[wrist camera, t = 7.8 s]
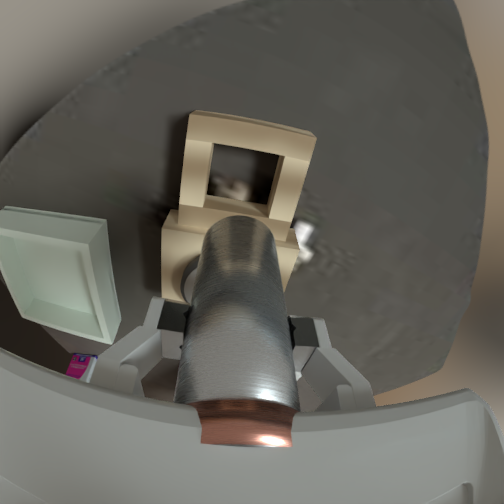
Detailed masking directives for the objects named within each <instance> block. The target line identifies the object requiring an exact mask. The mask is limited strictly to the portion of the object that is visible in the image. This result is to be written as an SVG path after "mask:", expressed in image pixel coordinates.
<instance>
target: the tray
mask: <svg viewBox="0 0 504 504" xmlns="http://www.w3.org/2000/svg"><path fill="white" fill-rule="evenodd" d="M0 270H1V273H2V275H3V277H4V280H5V282H6V285H7V287H8V289H9V291H10V294H11V296H12V298H13V300H14V302H15V304H16V306H17V308H18V310H19V312H20V314H21V316H22V317H23V318H26V319H28V320H31V321H34V322H36V323H39V324H42V325H45V326H48V327H51V328H54V329H57V330H61V331H64V332H67V333H70V334H74V335H77V336H81V337H84V338H88V339H92V340H95V341H99V342H103V343H107V344H111V345H112V344H113V341H114V338H115V336H116V333H117V330H118V327H119V324H120V322H121V315H120V310H119V305H118V300H117V294H116V289H115V283H114V276H113V270H112V263H111V255H110V247H109V238H108V229H107V219H100V218H93V217H86V216H79V215H72V214H65V213H57V212H50V211H42V210H35V209H27V208H20V207H12V206H5V207H4V208H3V209H2V210H1V211H0Z"/></svg>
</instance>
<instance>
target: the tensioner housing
mask: <svg viewBox="0 0 504 504" xmlns="http://www.w3.org/2000/svg"><path fill="white" fill-rule="evenodd" d="M316 139H317V138H316V137H315V136H314V135H313V134H312V133H311V132H310V131H306V130H302V129H298V128H294V127H290V126H285V125H281V124H276V123H272V122H267V121H262V120H257V119H252V118H246V117H240V116H235V115H228V114H222V113H215V112H208V111H200V110H195V111H193V112H192V113H191V114H190V115H189V122H188V129H187V136H186V144H185V152H184V160H183V170H182V179H181V190H180V201H179V210H174V209H171V210H170V212H169V214H168V216H167V218H166V220H165V223H164V225H163V227H162V239H161V285H162V298H165V299H166V298H167V299H172V300H177V301H182V302H188V303H190V301H191V296H192V291H193V286H194V282H195V277H196V272H197V267H198V262H199V258H200V253H201V249H202V244H203V240H204V237H205V234H206V232H207V231H208V229H209V228H210V227H211V226H212V225H213V224H214V223H216V222H217V221H219V220H221V219H223V218H226V217H229V216H236V215H242V216H248V217H252V218H255V219H257V220H259V221H261V222H262V223H264V224H265V225H266V226H267V227H268V228H269V229H270V230H271V232H272V234H273V236H274V238H275V243H276V249H277V255H278V261H279V267H280V273H281V279H282V285H283V292H284V291H285V288H286V285H287V283H288V280H289V277H290V275H291V272H292V269H293V267H294V264H295V261H296V259H297V256H298V253H299V250H300V249H299V245H298V242H297V238H296V234H295V230H294V229H292V228H290V225H291V222H292V219H293V215H294V212H295V209H296V206H297V203H298V199H299V196H300V193H301V190H302V186H303V183H304V180H305V176H306V173H307V170H308V166H309V163H310V160H311V156H312V153H313V149H314V146H315V142H316ZM214 143H217V144H223V145H229V146H235V147H241V148H247V149H252V150H258V151H263V152H268V153H273V154H278V155H279V159H278V163H277V167H276V171H275V175H274V179H273V183H272V187H271V191H270V194H269V198H268V202H267V205H264V204H258V203H253V202H247V201H241V200H235V199H229V198H223V197H216V196H210V195H206V194H207V187H208V180H209V173H210V167H211V160H212V154H213V148H214Z"/></svg>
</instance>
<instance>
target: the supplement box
mask: <svg viewBox="0 0 504 504" xmlns="http://www.w3.org/2000/svg"><path fill="white" fill-rule="evenodd" d="M97 359H98V357H97V356H96V355H84V354H78V353H74V355H73V357H72V360H71V362H70V364H69V367H68V370H67V372H66V375H67V376H70V377H73V378H76V379H79V380H82V381H85V382H88V383H89V381H90V378H91V375H92V373H93V370H94V367H95V364H96V361H97Z"/></svg>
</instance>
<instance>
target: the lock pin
mask: <svg viewBox="0 0 504 504" xmlns="http://www.w3.org/2000/svg"><path fill="white" fill-rule="evenodd" d="M173 403H180V404H186V405H191V406H193V407H194V408H195V409H196V410H197V412H198V416H199V419H200V423H201V426H202V433H201V443H202V444H211V445H223V446H238V447H293V446H292V437H291V429H292V422H293V417H294V415H295V413H297V412H301V411H300V403H299V395H298V388H297V380H296V373H295V366H294V359H293V352H292V345H291V338H290V331H289V324H288V318H287V311H286V304H285V298H284V292H283V285H282V279H281V273H280V267H279V261H278V255H277V249H276V243H275V238H274V236H273V234H272V232H271V230H270V229H269V228H268V227H267V226H266V225H265V224H264V223H262V222H261V221H259V220H257V219H255V218H252V217H248V216H242V215H236V216H229V217H226V218H223V219H221V220H219V221H217V222H216V223H214V224H213V225H212V226H211V227H210V228H209V229H208V231H207V232H206V234H205V237H204V240H203V244H202V249H201V253H200V258H199V262H198V267H197V272H196V277H195V282H194V286H193V291H192V296H191V301H190V307H189V313H188V318H187V323H186V329H185V335H184V340H183V345H182V351H181V357H180V363H179V369H178V375H177V382H176V388H175V395H174V402H173Z"/></svg>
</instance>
